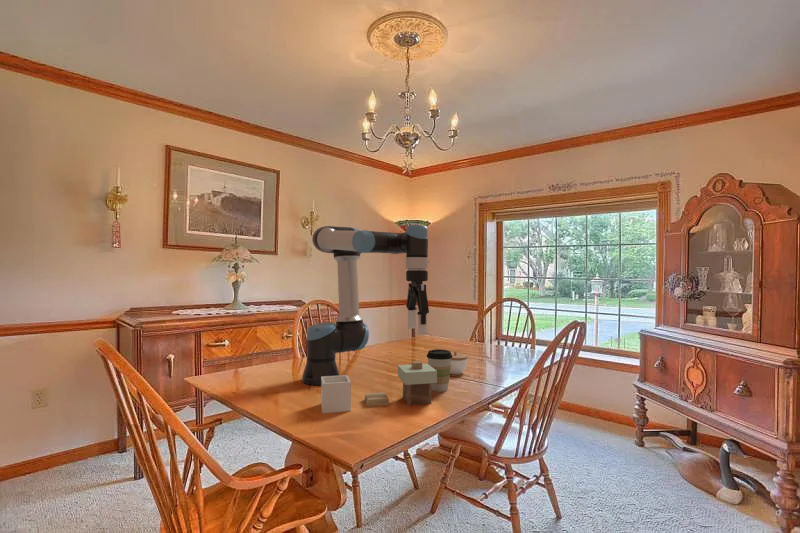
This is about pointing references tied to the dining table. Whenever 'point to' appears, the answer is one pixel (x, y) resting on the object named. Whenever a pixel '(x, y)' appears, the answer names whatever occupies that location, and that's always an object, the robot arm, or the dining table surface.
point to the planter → (335, 394)
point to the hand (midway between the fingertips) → (416, 331)
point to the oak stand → (376, 399)
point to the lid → (417, 373)
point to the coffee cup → (440, 368)
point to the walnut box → (417, 393)
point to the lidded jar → (458, 363)
